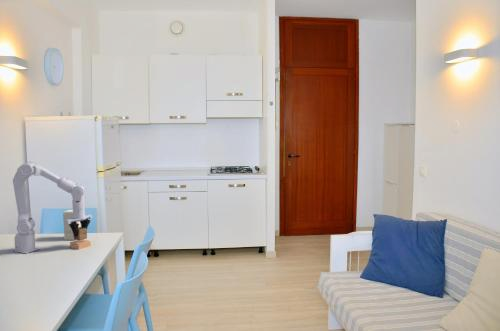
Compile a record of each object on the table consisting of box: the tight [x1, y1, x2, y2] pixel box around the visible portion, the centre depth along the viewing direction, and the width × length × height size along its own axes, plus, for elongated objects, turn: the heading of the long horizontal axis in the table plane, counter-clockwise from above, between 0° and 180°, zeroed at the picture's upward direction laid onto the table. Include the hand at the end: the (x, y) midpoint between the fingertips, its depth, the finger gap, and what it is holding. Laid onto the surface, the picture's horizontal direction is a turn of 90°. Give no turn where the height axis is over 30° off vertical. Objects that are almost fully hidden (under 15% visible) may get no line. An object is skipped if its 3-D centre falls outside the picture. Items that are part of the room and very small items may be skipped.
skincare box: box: [62, 209, 81, 241], centre depth 231 cm, size 8×7×16 cm
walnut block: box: [73, 227, 88, 241], centre depth 216 cm, size 4×4×6 cm
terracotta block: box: [69, 239, 92, 250], centre depth 216 cm, size 7×7×3 cm
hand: (80, 235), depth 216 cm, fingers closed on walnut block, 4 cm apart
